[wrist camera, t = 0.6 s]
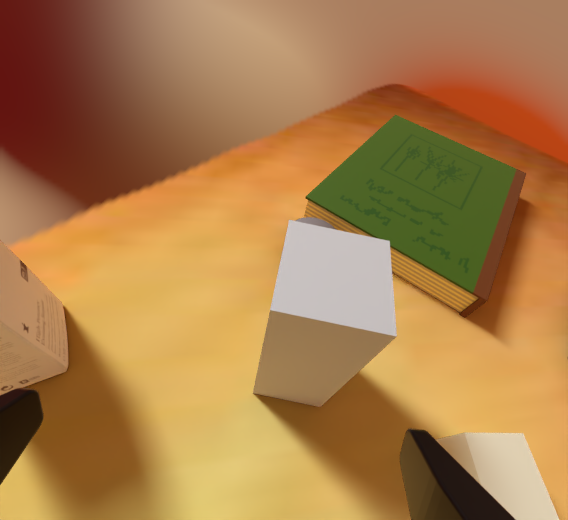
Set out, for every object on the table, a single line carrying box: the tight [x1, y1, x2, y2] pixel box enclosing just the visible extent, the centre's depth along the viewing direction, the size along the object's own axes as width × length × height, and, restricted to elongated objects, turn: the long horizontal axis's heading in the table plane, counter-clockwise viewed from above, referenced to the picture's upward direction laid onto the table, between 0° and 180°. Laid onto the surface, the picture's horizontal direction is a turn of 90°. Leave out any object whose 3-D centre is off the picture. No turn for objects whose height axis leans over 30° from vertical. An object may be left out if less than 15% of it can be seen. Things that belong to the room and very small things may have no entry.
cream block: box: [436, 433, 559, 520], centre depth 19 cm, size 6×4×4 cm, turn 0°
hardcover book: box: [304, 115, 526, 318], centre depth 37 cm, size 25×19×4 cm
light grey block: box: [253, 220, 397, 407], centre depth 18 cm, size 5×5×13 cm
